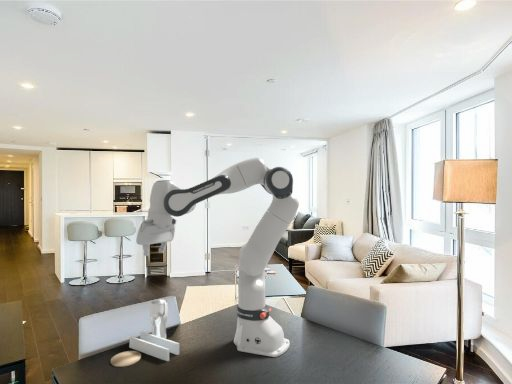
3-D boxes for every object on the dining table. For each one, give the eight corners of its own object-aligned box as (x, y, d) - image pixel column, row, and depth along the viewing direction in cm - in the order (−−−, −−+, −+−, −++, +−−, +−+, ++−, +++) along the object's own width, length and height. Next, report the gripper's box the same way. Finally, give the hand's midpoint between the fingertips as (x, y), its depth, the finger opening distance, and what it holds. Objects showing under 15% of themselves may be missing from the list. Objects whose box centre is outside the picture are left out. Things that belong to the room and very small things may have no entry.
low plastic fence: (179, 354, 110) (179, 343, 110) (167, 361, 105) (167, 349, 105) (141, 341, 120) (142, 331, 120) (129, 347, 115) (129, 337, 115)
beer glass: (162, 343, 118) (162, 305, 119) (146, 341, 120) (146, 303, 120) (170, 335, 125) (171, 299, 126) (155, 334, 127) (156, 298, 127)
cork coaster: (147, 356, 109) (147, 355, 109) (123, 369, 100) (123, 368, 100) (128, 349, 113) (128, 348, 113) (104, 361, 105) (104, 360, 105)
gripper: (149, 221, 110) (144, 259, 110) (178, 220, 130) (174, 252, 129) (134, 219, 112) (129, 256, 111) (166, 218, 131) (162, 249, 131)
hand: (154, 254), depth 120 cm, fingers open, 8 cm apart
